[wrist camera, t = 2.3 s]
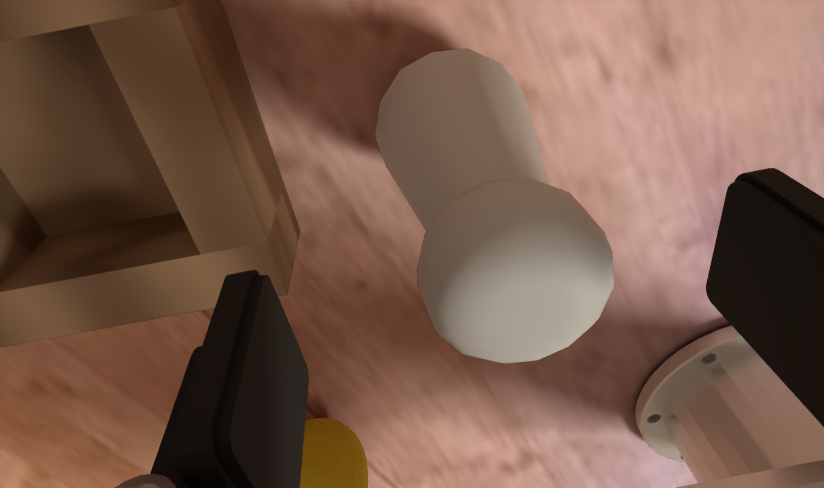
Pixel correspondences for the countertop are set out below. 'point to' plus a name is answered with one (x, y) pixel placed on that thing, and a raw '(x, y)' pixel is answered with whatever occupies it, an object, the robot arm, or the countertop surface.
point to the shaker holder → (129, 166)
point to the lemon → (332, 456)
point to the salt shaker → (490, 212)
